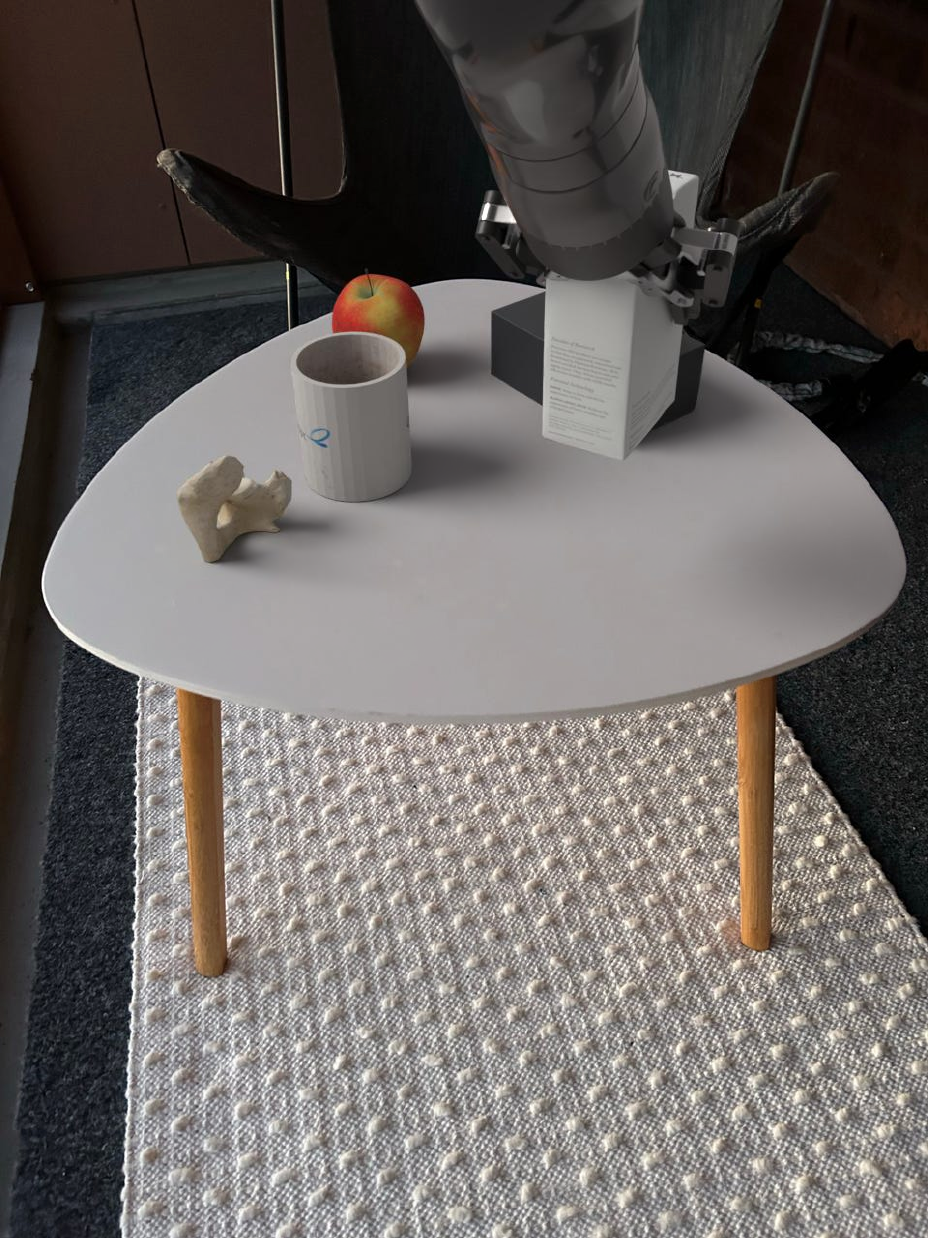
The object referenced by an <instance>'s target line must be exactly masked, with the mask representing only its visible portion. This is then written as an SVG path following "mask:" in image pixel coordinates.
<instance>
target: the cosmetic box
mask: <svg viewBox="0 0 928 1238" xmlns="http://www.w3.org/2000/svg"><path fill="white" fill-rule="evenodd" d="M668 172H669V177H670V183H671V188H672V196H673V208H674V210H675V211H676V212H677V213H678V214H680V215H681V216H682V217H683V218H684V220H685V222H686V225H687V227H688V228H694V229H695V220H696V212H697V211H696V210H697V201H698V192H699V182H700V177H699V175H696V174H691V173H687V172H681V171H674V170H670V169H668ZM652 272H653V271H651V273H652ZM545 291H546V296H545V337H544V380H543V406H542V432H541V433H542V437H543V438H545V439H546V440H549V441H553V442H555V443H559V444H561V445H566V446H570V447H574V448H577V449H580V450H584V451H587V452H590V453H594V454H597V455H600V456H604V457H608V458H612V459H615V460H619V461H626V460H627V459H628V458H629V456H630V455H631V454H632V452H634V450H635V449H636V448H637V447H638V446H639V444H640V443H641V442H642V441H643V439H644V438H645V437H646V436H647V434H648V433H649V432H651V431H650V429H651V428H652V427H653V426H654V425H655V423H656V422H657V421H658V420H659V419H660V417H661V416H662V415H663V413H664V412H665V410H666V409H667V408H668V407H669V406H670V405H671V404H672V402H673V401H674V399H675V390H676V381H677V373H678V363H679V354H680V346H681V337H682V333H683V327H684V325H678V324H675V323H674V319H673V315H672V311H671V307H670V301H669V300H668V299H667V298H665V297H664V296H648V295H647V294H645V293H644V292H643V291H642V290H641V288H640V287H639V286H638V285H636V284H631V283H630V282H629V281H627V280H618V279H617V278H615V277H611V278H608V279H603V280H597V281H580V280H574V279H569V280H568V281H554V280H550V279H547V278H546V287H545Z"/></svg>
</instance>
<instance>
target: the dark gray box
mask: <svg viewBox="0 0 928 1238" xmlns="http://www.w3.org/2000/svg"><path fill="white" fill-rule="evenodd" d="M545 296H546V290H545V291H542V292H540V293H537V294H534V295H531V296H529V297H525V298H523V299H520V300H519V301H514V302H512V303H509V304H507V305H504V306H501V307H499V308H496V309H492V310H491V312H490V313H491V314H490V316H491V319H490V320H491V321H490V324H491V325H490V326H491V327H490V333H491V334H490V339H491V342H490V345H491V346H490V374H491V375H492V376H494V377H495V378H497V379H499V380H500V381H502V382H503V383H505V384H506V385H508V386H510V387H511V388H513V389H514V390H516V391H518V392H519V393H520V394H522V395H524V396H526V397H527V398H529V399H530V400H533V401H534V402H535V403H537V404H539V405H540V406H541V407H543V380H544V337H545ZM705 349H706V344H704V343H703V342H701V341H699V340H697V339H695V338H693V337H691V336H689V335H687V334H685V333H683V332H682V337H681V346H680V354H679V363H678V373H677V381H676V390H675V399H674V401H673V402H672V404H671V405H670V406H669V407H668V408H667V409H666V410H665V412H664V413H663V415H662V416H661V417H660V419H659V420H658V421H657V422H656V423H655V425H654V426H653V427H652V428H651V429H650V431H649V432H651V431H653V430H655V429H657V428H659V427H661V426H664V425H666V424H668V423H671V422H672V421H674V420H676V419H678V418H681V417H683V416H685V415H687V414H689V413H692V412H694V411H696V410H697V406H698V405H697V403H698V398H699V390H700V385H701V376H702V371H703V364H704V356H705Z"/></svg>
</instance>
